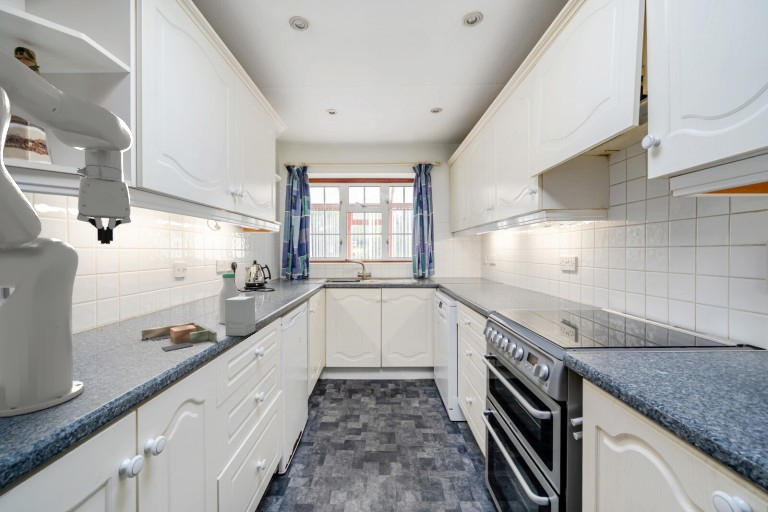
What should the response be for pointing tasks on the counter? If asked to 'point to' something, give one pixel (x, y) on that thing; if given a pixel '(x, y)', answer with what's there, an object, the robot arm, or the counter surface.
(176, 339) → the block
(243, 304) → the supplement box
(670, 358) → the counter surface
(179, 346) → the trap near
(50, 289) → the robot arm
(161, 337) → the plate
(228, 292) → the milk bottle
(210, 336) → the green-grey pronged frame
